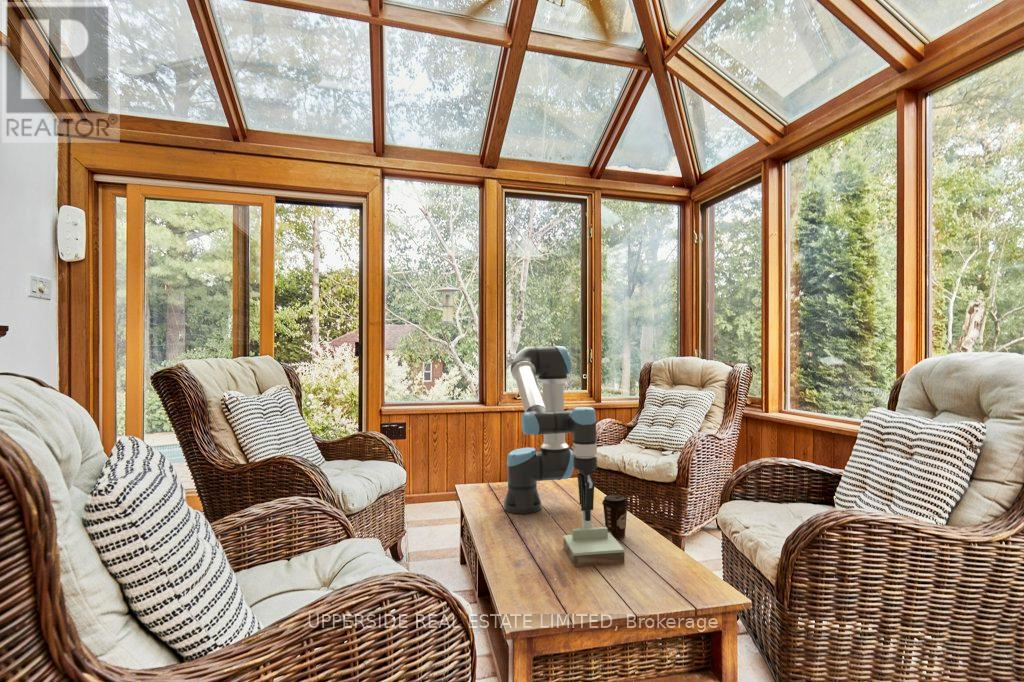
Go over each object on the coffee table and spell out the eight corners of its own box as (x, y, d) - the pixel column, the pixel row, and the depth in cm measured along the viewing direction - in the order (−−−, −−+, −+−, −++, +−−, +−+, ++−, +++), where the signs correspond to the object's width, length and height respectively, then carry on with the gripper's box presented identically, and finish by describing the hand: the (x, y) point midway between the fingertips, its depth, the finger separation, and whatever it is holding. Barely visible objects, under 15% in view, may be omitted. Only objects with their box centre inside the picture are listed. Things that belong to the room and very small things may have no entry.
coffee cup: (630, 532, 171) (629, 494, 172) (627, 542, 163) (626, 502, 164) (604, 530, 174) (604, 493, 174) (601, 539, 166) (600, 500, 166)
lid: (563, 537, 160) (563, 525, 160) (609, 534, 161) (609, 522, 161) (573, 555, 146) (573, 542, 146) (624, 552, 148) (623, 539, 148)
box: (563, 548, 160) (563, 538, 160) (609, 544, 161) (609, 534, 161) (574, 567, 146) (573, 556, 146) (624, 563, 147) (624, 552, 148)
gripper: (568, 452, 166) (570, 523, 166) (578, 460, 154) (580, 538, 153) (590, 451, 167) (592, 522, 167) (602, 459, 154) (604, 536, 154)
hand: (586, 529), depth 160 cm, fingers closed
